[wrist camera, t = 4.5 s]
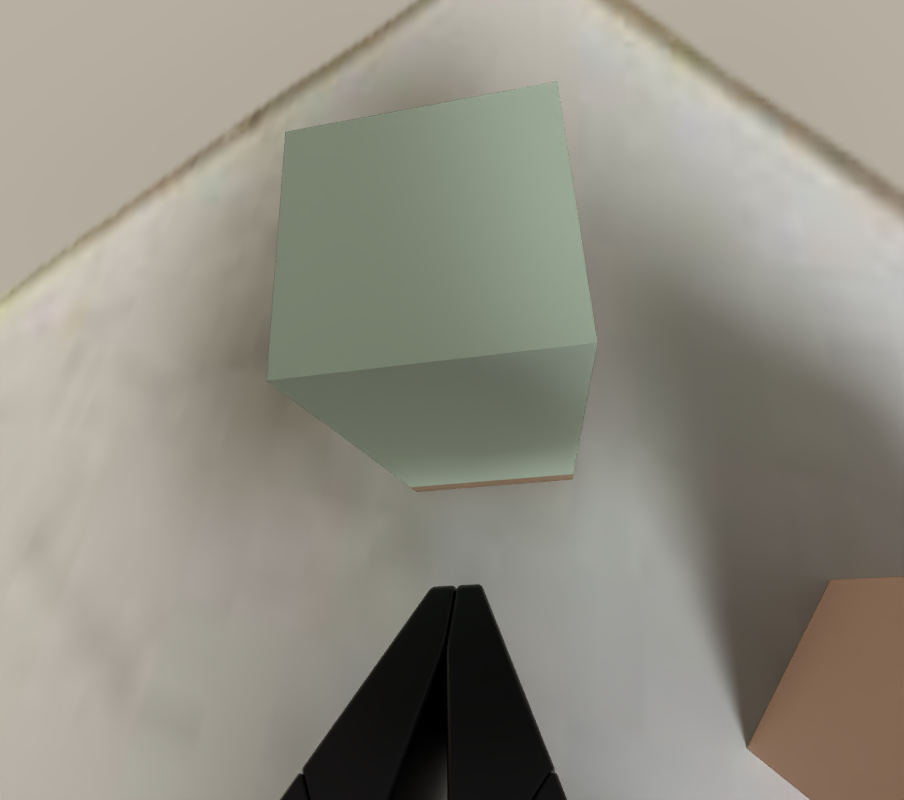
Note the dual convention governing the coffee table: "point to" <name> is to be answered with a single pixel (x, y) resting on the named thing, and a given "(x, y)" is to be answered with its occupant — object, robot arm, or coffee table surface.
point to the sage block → (438, 289)
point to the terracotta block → (843, 698)
